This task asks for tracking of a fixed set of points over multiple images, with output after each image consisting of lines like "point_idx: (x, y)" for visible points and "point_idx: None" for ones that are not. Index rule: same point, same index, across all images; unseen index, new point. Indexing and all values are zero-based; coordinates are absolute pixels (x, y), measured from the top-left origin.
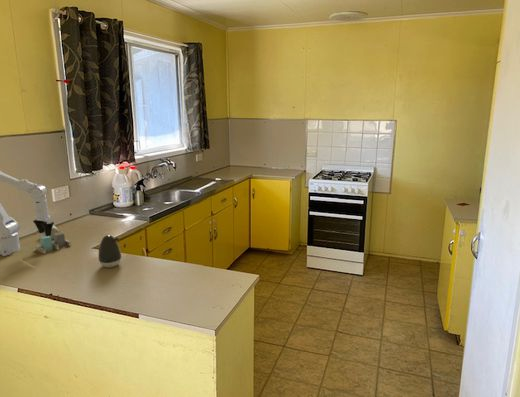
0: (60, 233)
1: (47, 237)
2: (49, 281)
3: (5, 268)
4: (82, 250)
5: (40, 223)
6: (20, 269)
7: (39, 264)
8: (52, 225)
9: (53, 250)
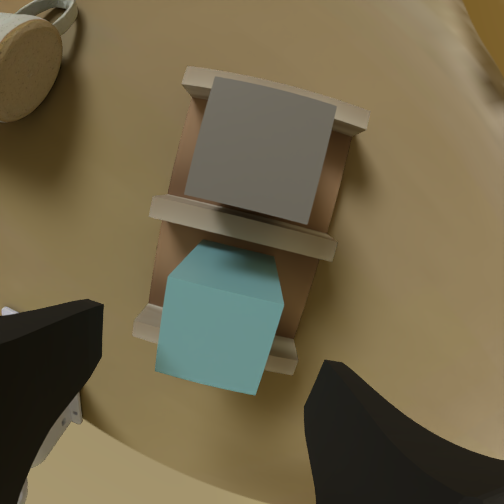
0: (278, 124)
1: (252, 339)
2: (496, 449)
3: (249, 496)
4: (470, 155)
5: (3, 426)
6: None
7: None
8: (477, 464)
9: (298, 270)
